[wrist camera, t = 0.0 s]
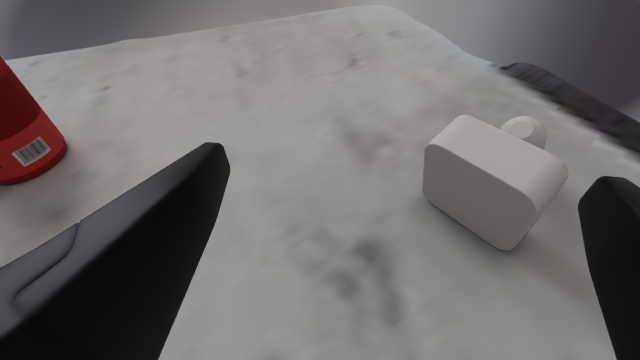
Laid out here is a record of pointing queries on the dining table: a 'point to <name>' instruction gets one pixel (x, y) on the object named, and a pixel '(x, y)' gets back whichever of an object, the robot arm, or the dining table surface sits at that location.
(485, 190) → the grey block
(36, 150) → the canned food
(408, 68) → the dining table surface
